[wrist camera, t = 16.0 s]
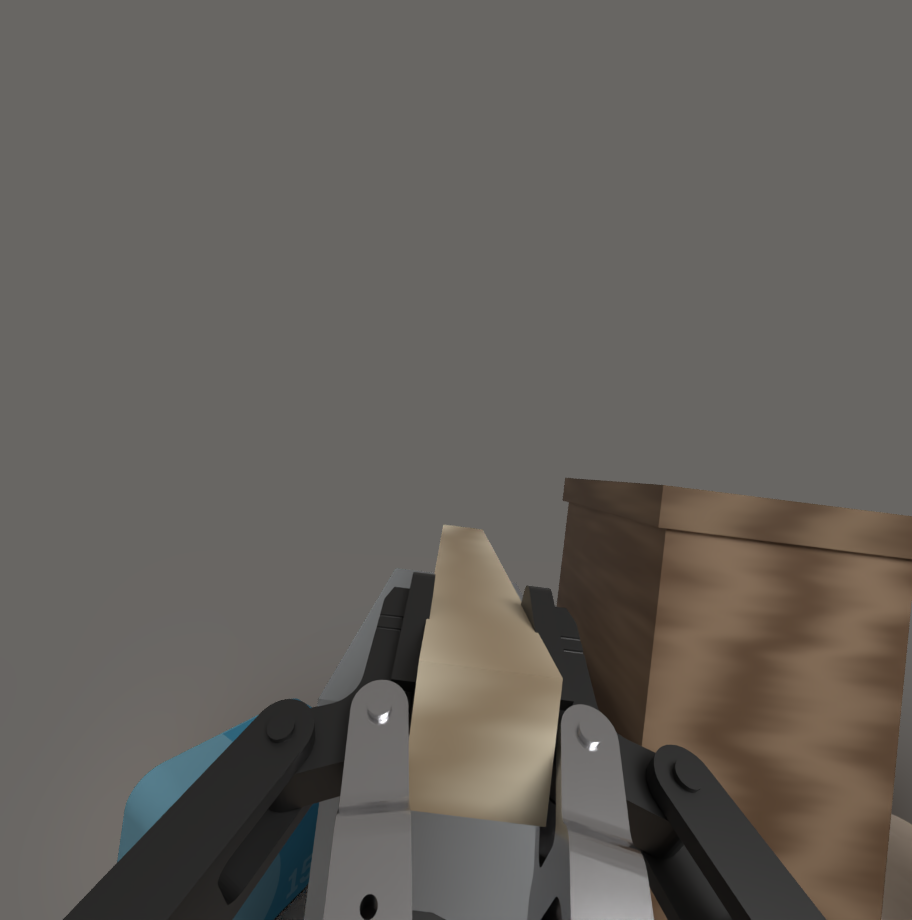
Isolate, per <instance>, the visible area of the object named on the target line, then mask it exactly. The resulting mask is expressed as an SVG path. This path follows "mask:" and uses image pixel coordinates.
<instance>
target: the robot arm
mask: <svg viewBox="0 0 912 920" xmlns="http://www.w3.org/2000/svg"><path fill="white" fill-rule="evenodd" d="M435 576H436V574H428V573H420V572H413V576H412V580H411V585H410V589H409V588H401V587H394V588H393V589H392V590H391V591H390V593H389V594H388V595H387V596H386V597H385V599H384V602H383V605H382V609H381V613H380V617H379V620H378V624H377V628H376V631H375V634H374V638H373V642H372V645H371V649H370V653H369V656H368V660H367V663H366V667H365V671H364V674H363V677H362V680H361V682H360V683H359V685H358V686H357V688H356V689H355V690H354V691H353V692H352V693H351V694H350V695H348V696H347V697H345V698H344V699H342V700H340V701H338V702H335V703H331V704H327V705H322V706H318V707H313V708H309V706H308V705H307V704H305V703H304V702H302V701H300V700H296V699H285V700H281V701H278V702H276V703H274V704H272V705H270V706H268V707H267V708H266V709H264V710H263V711H262V712H261V713H260V714H259V715H258V716H257V717H256V718H255V719H254V720H253V721H252V722H251V723H250V725H249V726H248V727H247V728H246V729H245V730H244V731H243V732H242V733H241V734H240V735H239V736H238V737H237V738H236V739H235V740H234V741H233V742H232V743H231V744H230V745H229V746H228V747H227V749H226V750H225V751H224V752H223V753H222V754H221V755H220V756H219V757H218V758H217V759H216V760H215V761H214V762H213V763H212V764H211V765H210V766H209V767H208V768H207V769H206V770H205V772H204V773H203V774H202V775H201V776H200V777H199V778H198V779H197V780H196V781H195V782H194V783H193V784H192V785H191V786H190V787H189V788H188V789H187V790H186V791H185V792H184V793H183V795H182V796H181V797H180V798H179V799H178V800H177V801H176V802H175V803H174V804H173V805H172V806H171V807H170V808H169V809H168V810H167V811H166V812H165V813H164V814H163V815H162V816H161V818H160V819H159V820H158V821H157V822H156V823H155V824H154V825H153V826H152V827H151V828H150V829H149V830H148V831H147V832H146V833H145V834H144V835H143V836H142V837H141V838H140V839H139V841H138V842H137V843H136V844H135V845H134V846H133V847H132V848H131V849H130V850H129V851H128V852H127V853H126V854H125V855H124V856H123V857H122V858H121V859H120V860H119V861H118V862H117V864H116V865H115V866H114V867H113V868H112V869H111V870H110V871H109V872H108V873H107V874H106V875H105V876H104V877H103V878H102V879H101V880H100V881H99V882H98V883H97V884H96V886H95V887H94V888H93V889H92V890H91V891H90V892H89V893H88V894H87V895H86V896H85V897H84V898H83V899H82V900H81V901H80V902H79V903H78V904H77V905H76V906H75V907H74V909H73V910H72V911H71V912H70V913H69V914H68V915H67V916H66V917H65V918H64V919H63V920H233V918H234V917H235V915H236V914H237V913H238V911H239V910H240V908H241V907H242V905H243V904H244V902H245V901H246V900H247V898H248V897H249V895H250V894H251V892H252V891H253V889H254V888H255V887H256V885H257V884H258V882H259V881H260V879H261V878H262V876H263V875H264V874H265V872H266V871H267V869H268V868H269V866H270V865H271V864H272V862H273V861H274V859H275V858H276V856H277V855H278V853H279V852H280V851H281V849H282V848H283V846H284V845H285V843H286V842H287V840H288V839H289V838H290V836H291V835H292V833H293V832H294V830H295V829H296V828H297V826H298V825H299V823H300V822H301V820H302V819H303V817H304V816H305V815H306V813H307V812H308V810H309V809H310V807H311V806H312V804H315V803H318V802H321V801H325V800H328V799H332V798H335V797H339V796H340V803H339V809H338V811H337V815H336V820H335V827H334V834H333V842H332V850H331V859H330V867H329V876H328V884H327V892H326V901H325V909H324V917H323V920H446V919H444V918H442V917H440V916H438V915H436V914H434V913H432V912H423V911H415V910H412V853H411V809H410V803H409V735H410V728H411V720H412V712H413V704H414V696H415V688H416V681H417V673H418V665H419V658H420V653H421V647H422V641H423V636H424V630H425V625H426V619H430V612H431V606H432V600H433V593H434V585H435ZM521 606H522V608H523V610H524V612H525V614H526V615H527V617H528V619H529V621H530V623H531V625H532V627H533V629H534V631H535V632H536V633H539V635H540V637H541V639H542V641H543V643H544V645H545V646H546V648H547V650H548V652H549V654H550V656H551V658H552V659H553V661H554V663H555V665H556V667H557V669H558V671H559V672H560V674H561V676H562V678H563V682H562V691H561V699H560V708H559V717H558V725H557V734H556V743H555V751H554V760H553V769H552V778H551V786H550V795H549V804H548V812H547V821H546V827H541V826H536V829H535V855H534V871H533V879H532V884H531V889H530V895H529V903H528V915H527V920H654V915H653V908H652V901H651V894H650V889H651V891H652V892H653V894H654V896H655V898H656V900H657V901H658V903H659V905H660V907H661V909H662V911H663V912H664V914H665V916H666V918H667V920H826V918H825V917H824V916H823V915H822V913H821V912H820V911H819V909H818V908H817V907H816V906H815V904H814V903H813V902H812V901H811V899H810V898H809V897H808V895H807V894H806V893H805V892H804V890H803V889H802V888H801V886H800V885H799V884H798V883H797V881H796V880H795V879H794V878H793V876H792V875H791V874H790V872H789V871H788V870H787V869H786V867H785V866H784V865H783V863H782V862H781V861H780V860H779V858H778V857H777V856H776V854H775V853H774V852H773V851H772V849H771V848H770V847H769V846H768V844H767V843H766V842H765V840H764V839H763V838H762V837H761V835H760V834H759V833H758V831H757V830H756V829H755V828H754V826H753V825H752V824H751V823H750V821H749V820H748V819H747V817H746V816H745V815H744V814H743V812H742V811H741V810H740V808H739V807H738V806H737V805H736V803H735V802H734V801H733V800H732V798H731V797H730V796H729V794H728V793H727V792H726V791H725V789H724V788H723V787H722V785H721V784H720V783H719V782H718V780H717V779H716V778H715V776H714V775H713V774H712V773H711V771H710V770H709V769H708V768H707V766H706V765H705V764H704V763H703V762H702V761H701V760H700V759H699V758H698V757H697V756H696V755H694V754H693V753H692V752H690V751H689V750H687V749H685V748H683V747H680V746H677V745H664V746H662V747H660V748H659V749H658V750H657V751H656V753H655V752H653V751H651V750H649V749H647V748H644V747H642V746H640V745H638V744H636V743H634V742H632V741H629V740H627V739H626V738H624V737H622V736H621V735H619V734H618V733H617V732H616V731H615V729H614V727H613V725H612V724H611V722H610V721H609V720H608V719H607V717H606V716H604V715H603V714H602V713H601V712H600V711H599V709H598V706H597V703H596V699H595V695H594V692H593V688H592V684H591V680H590V676H589V672H588V668H587V664H586V660H585V656H584V655H583V648H582V644H581V641H580V636H579V632H578V628H577V624H576V622H575V620H574V619H573V617H572V616H571V614H570V613H569V612H568V610H567V609H566V608H563V607H555V606H554V601H553V596H552V592H551V589H549V588H541V587H533V586H526V588H525V591H524V595H523V598H522V602H521ZM649 887H650V888H649Z"/></svg>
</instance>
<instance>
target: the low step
mask: <svg viewBox="0 0 912 920" xmlns="http://www.w3.org/2000/svg"><path fill="white" fill-rule="evenodd" d="M413 572H420V573H428V574H435V573H430V572H422V571H413V570H406V569H397V568H396V569H395V570H394V572H393V574H392V575H391V577H390V579H389V580H388V582H387V584H386V585H385V587H384V589H383V591H382V592H381V594H380V596H379V597H378V599H377V601H376V602H375V604H374V606H373V607H372V609H371V611H370V612H369V614H368V616H367V618H366V619H365V621H364V623H363V624H362V626H361V628H360V629H359V631H358V633H357V634H356V636H355V638H354V640H353V641H352V643H351V645H350V646H349V648H348V650H347V651H346V653H345V655H344V656H343V658H342V660H341V661H340V663H339V665H338V667H337V668H336V670H335V672H334V673H333V675H332V677H331V678H330V680H329V682H328V683H327V685H326V687H325V689H324V690H323V692H322V694H321V695H320V697H319V699H318V706H322V705H327V704H331V703H335V702H338V701H340V700H342V699H344V698H345V697H347V696H348V695H350V694H351V693H352V692H353V691H354V690H355V689H356V688H357V686H358V685H359V683H360V682H361V680H362V677H363V674H364V671H365V667H366V663H367V660H368V656H369V653H370V649H371V645H372V642H373V638H374V634H375V631H376V628H377V624H378V620H379V617H380V613H381V609H382V605H383V602H384V599H385V597H386V596H387V595H388V594H389V593H390V591H391V590H392V589H393V588H394V587H401V588H409V589H410V585H411V580H412V576H413ZM512 585H513V587H514V589H515V591H516V593H517V594H518V596H519V598H520V600H521V602H522V598H523V595H522V593H521V591H520V589H519V587H518V586H517V584H516V583H512ZM318 706H317V707H318ZM339 803H340V796H339V797H335V798H332V799H328V800H325V801H321V802H319V808H318V816H317V823H316V831H315V839H314V846H313V854H312V862H311V869H310V877H309V884H308V892H307V900H306V907H305V915H304V920H323V917H324V909H325V901H326V892H327V884H328V876H329V867H330V859H331V850H332V842H333V834H334V827H335V820H336V815H337V811H338V809H339ZM535 829H536V826H533V825H525V824H517V823H508V822H500V821H492V820H484V819H476V818H468V817H460V816H452V815H443V814H435V813H427V812H419V811H411V853H412V910H415V911H423V912H432V913H434V914H436V915H438V916H440V917H442V918H444V919H446V920H527V915H528V903H529V895H530V889H531V884H532V879H533V871H534V855H535Z"/></svg>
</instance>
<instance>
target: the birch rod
mask: <svg viewBox="0 0 912 920" xmlns="http://www.w3.org/2000/svg"><path fill="white" fill-rule="evenodd" d="M435 574H436V576H435V585H434V593H433V600H432V606H431V612H430V619H426V625H425V630H424V636H423V641H422V647H421V653H420V658H419V665H418V673H417V681H416V688H415V696H414V704H413V712H412V720H411V728H410V735H409V803H410V809H411V811H419V812H427V813H435V814H443V815H452V816H460V817H468V818H476V819H484V820H492V821H500V822H508V823H517V824H525V825H533V826H541V827H546V821H547V812H548V804H549V795H550V786H551V778H552V769H553V760H554V751H555V743H556V734H557V725H558V717H559V708H560V699H561V691H562V682H563V678H562V676H561V674H560V672H559V671H558V669H557V667H556V665H555V663H554V661H553V659H552V658H551V656H550V654H549V652H548V650H547V648H546V646H545V645H544V643H543V641H542V639H541V637H540V635H539V633H536V632H535V631H534V629H533V627H532V625H531V623H530V621H529V619H528V617H527V615H526V614H525V612H524V610H523V608H522V606H521V600H520V598H519V596H518V594H517V593H516V591H515V589H514V587H513V585H512V583H511V582H510V580H509V578H508V576H507V574H506V572H505V570H504V568H503V567H502V565H501V563H500V561H499V559H498V557H497V556H496V554H495V552H494V550H493V548H492V546H491V544H490V542H489V541H488V539H487V537H486V535H485V533H484V532H483V530H482V529H474V528H466V527H459V526H450V525H443V530H442V535H441V541H440V547H439V552H438V558H437V564H436V569H435Z"/></svg>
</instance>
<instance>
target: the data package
mask: <svg viewBox="0 0 912 920" xmlns="http://www.w3.org/2000/svg"><path fill="white" fill-rule="evenodd" d="M296 700H299V699H296ZM308 706H309V705H308ZM309 708H312V707H310V706H309ZM257 716H258V715H257ZM257 716H255V717H253V718H251V719H249V720H247V721H245V722H243V723H241V724H239V725H237V726H235V727H233V728H231V729H229V730H227V731H225V732H223V733H221V734H219V735H217V736H215V737H213V738H211V739H209V740H207V741H205V742H203V743H201V744H199V745H197V746H195V747H193V748H191V749H189V750H187V751H185V752H183V753H181V754H179V755H178V756H175V757H173V758H172V759H169V760H167V761H165V762H163V763H162V764H160V765H158V766H157V767H155V768H153V769H152V770H151V771H150V772H148V773H147V774H146V775H145V776H144V777H143V778H142V779H141V780H140V781H139V783H138V784H137V785H136V786H135V788H134V789H133V791H132V793H131V794H130V796H129V798H128V800H127V803H126V807H125V811H124V819H123V825H122V832H121V839H120V846H119V853H118V860H117V862H118V861H119V860H120V859H121V858H122V857H123V856H124V855H125V854H126V853H127V852H128V851H129V850H130V849H131V848H132V847H133V846H134V845H135V844H136V843H137V842H138V841H139V839H140V838H141V837H142V836H143V835H144V834H145V833H146V832H147V831H148V830H149V829H150V828H151V827H152V826H153V825H154V824H155V823H156V822H157V821H158V820H159V819H160V818H161V816H162V815H163V814H164V813H165V812H166V811H167V810H168V809H169V808H170V807H171V806H172V805H173V804H174V803H175V802H176V801H177V800H178V799H179V798H180V797H181V796H182V795H183V793H184V792H185V791H186V790H187V789H188V788H189V787H190V786H191V785H192V784H193V783H194V782H195V781H196V780H197V779H198V778H199V777H200V776H201V775H202V774H203V773H204V772H205V770H206V769H207V768H208V767H209V766H210V765H211V764H212V763H213V762H214V761H215V760H216V759H217V758H218V757H219V756H220V755H221V754H222V753H223V752H224V751H225V750H226V749H227V747H228V746H229V745H230V744H231V743H232V742H233V741H234V740H235V739H236V738H237V737H238V736H239V735H240V734H241V733H242V732H243V731H244V730H245V729H246V728H247V727H248V726H249V725H250V723H251V722H252V721H253V720H254V719H255V718H256V717H257ZM318 808H319V802H318V803H315V804H312V806H311V807H310V809H309V810H308V812H307V813H306V815H305V816H304V817H303V819H302V820H301V822H300V823H299V825H298V826H297V828H296V829H295V830H294V832H293V833H292V835H291V836H290V838H289V839H288V840H287V842H286V843H285V845H284V846H283V848H282V849H281V851H280V852H279V853H278V855H277V856H276V858H275V859H274V861H273V862H272V864H271V865H270V866H269V868H268V869H267V871H266V872H265V874H264V875H263V876H262V878H261V879H260V881H259V882H258V884H257V885H256V887H255V888H254V889H253V891H252V892H251V894H250V895H249V897H248V898H247V900H246V901H245V902H244V904H243V905H242V907H241V908H240V910H239V911H238V913H237V914H236V915H235V917H234V918H233V920H274V919H275V918H276V917H277V916H278V914H279V913H280V912H281V911H282V910H283V909H284V908H285V907H286V906H287V905H288V904H289V903H290V902H291V901H292V900H293V899H294V898H295V897H296V896H297V895H298V894H299V893H300V892H301V891H302V890H303V889H304V888H305V887H306V886H307V885H308V883H309V877H310V869H311V862H312V854H313V846H314V839H315V831H316V823H317V816H318Z"/></svg>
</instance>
